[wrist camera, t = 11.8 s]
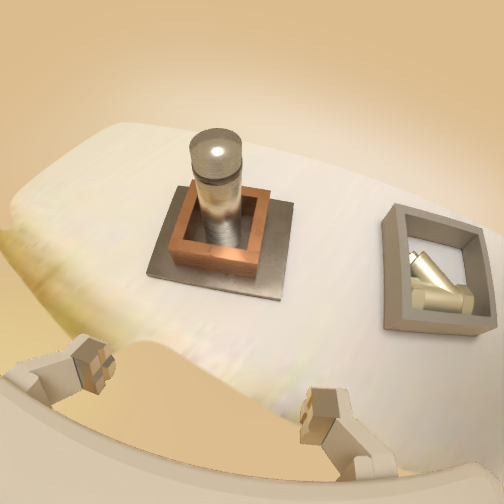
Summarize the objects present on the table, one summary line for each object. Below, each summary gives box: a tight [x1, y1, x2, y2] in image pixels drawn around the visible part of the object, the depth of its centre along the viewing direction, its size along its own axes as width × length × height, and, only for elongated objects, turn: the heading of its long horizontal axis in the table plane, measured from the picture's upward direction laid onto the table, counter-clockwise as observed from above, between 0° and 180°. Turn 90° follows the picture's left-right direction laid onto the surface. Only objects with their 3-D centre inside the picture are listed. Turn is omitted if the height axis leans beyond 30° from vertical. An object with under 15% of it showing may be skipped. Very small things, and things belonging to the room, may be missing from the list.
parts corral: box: [381, 203, 497, 336], centre depth 24 cm, size 12×12×4 cm
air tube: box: [189, 128, 242, 248], centre depth 22 cm, size 3×3×11 cm
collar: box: [146, 179, 294, 301], centre depth 25 cm, size 12×10×4 cm
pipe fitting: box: [409, 251, 474, 315], centre depth 24 cm, size 8×4×7 cm
